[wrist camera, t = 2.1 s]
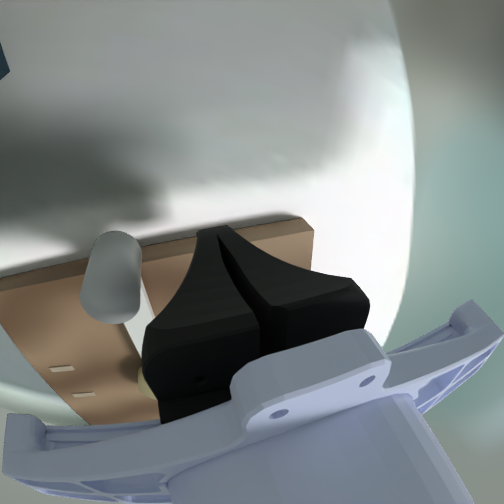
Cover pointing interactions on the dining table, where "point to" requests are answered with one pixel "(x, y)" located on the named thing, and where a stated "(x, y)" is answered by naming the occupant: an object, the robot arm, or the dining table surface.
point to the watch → (3, 64)
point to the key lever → (118, 289)
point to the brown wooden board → (112, 335)
